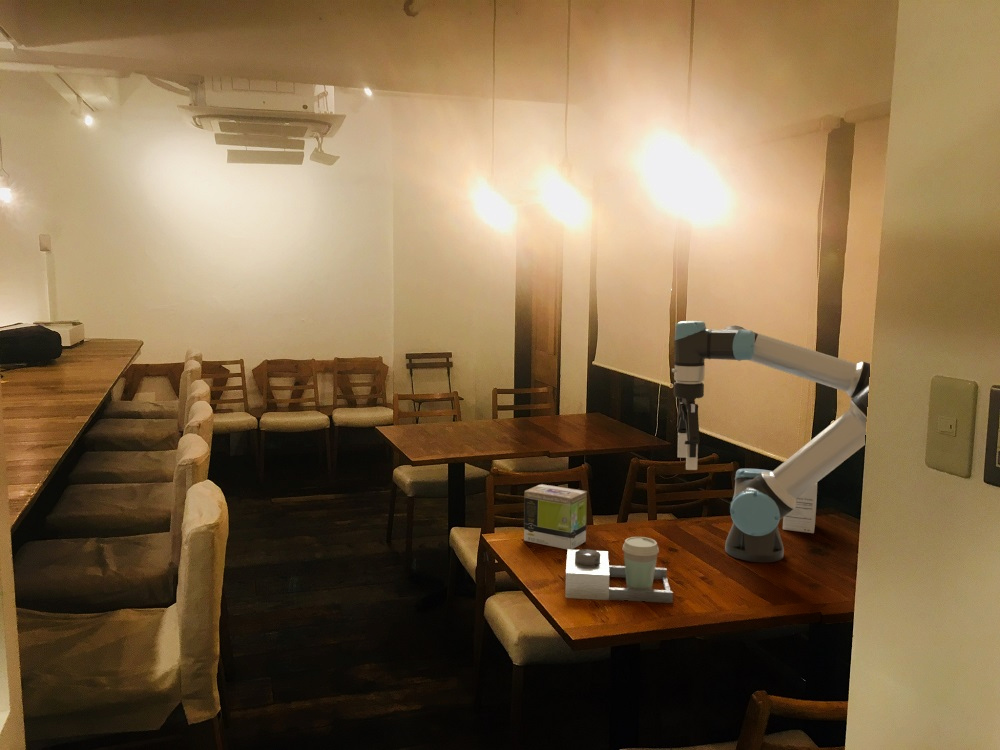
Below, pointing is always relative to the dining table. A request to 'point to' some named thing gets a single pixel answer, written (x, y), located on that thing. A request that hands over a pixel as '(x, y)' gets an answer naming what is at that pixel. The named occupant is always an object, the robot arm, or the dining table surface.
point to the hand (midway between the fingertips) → (687, 463)
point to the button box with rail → (606, 579)
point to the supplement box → (803, 512)
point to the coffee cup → (640, 562)
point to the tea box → (555, 516)
